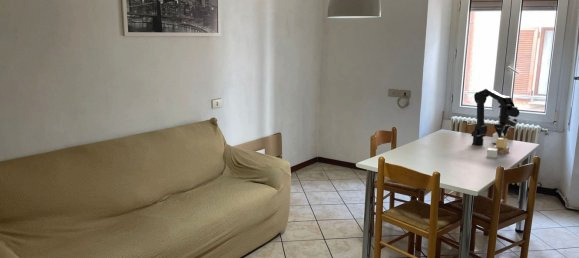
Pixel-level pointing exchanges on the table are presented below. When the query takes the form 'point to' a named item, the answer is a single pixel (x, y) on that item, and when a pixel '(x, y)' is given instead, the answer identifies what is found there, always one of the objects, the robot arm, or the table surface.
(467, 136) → the table surface
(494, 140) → the medicine bottle
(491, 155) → the grey block
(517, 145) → the table surface
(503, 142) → the ochre block
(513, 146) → the table surface
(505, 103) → the robot arm
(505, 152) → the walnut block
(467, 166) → the table surface
